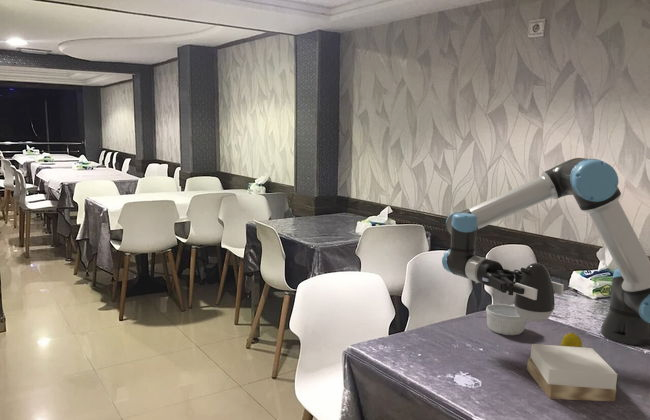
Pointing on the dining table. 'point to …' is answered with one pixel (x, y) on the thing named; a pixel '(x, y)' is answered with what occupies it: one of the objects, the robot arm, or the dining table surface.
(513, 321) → the ramekin
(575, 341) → the lemon
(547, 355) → the tower top
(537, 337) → the dining table surface
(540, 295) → the pump dispenser
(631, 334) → the robot arm
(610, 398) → the tower base
